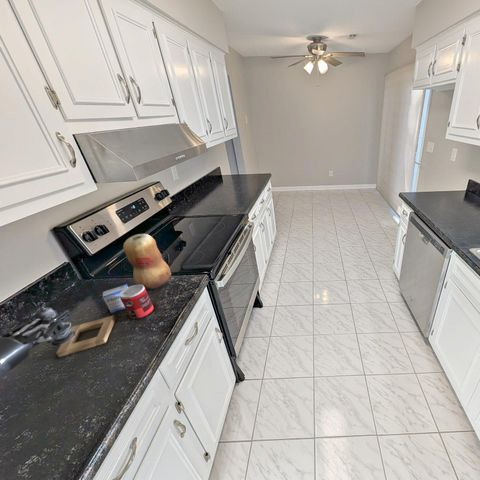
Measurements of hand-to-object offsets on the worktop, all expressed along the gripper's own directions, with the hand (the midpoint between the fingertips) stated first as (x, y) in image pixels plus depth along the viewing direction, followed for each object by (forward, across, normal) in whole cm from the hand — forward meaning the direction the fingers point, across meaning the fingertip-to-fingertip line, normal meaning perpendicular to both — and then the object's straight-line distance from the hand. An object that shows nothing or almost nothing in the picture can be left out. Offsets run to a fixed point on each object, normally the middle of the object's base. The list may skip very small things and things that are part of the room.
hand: (62, 312), depth 74 cm
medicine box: (+22, +6, +18) cm, 29 cm away
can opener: (+9, +27, +17) cm, 33 cm away
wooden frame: (+7, +6, +18) cm, 20 cm away
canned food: (+19, -5, +18) cm, 26 cm away
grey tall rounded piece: (-3, 0, +7) cm, 8 cm away
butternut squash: (+36, +1, +18) cm, 40 cm away
